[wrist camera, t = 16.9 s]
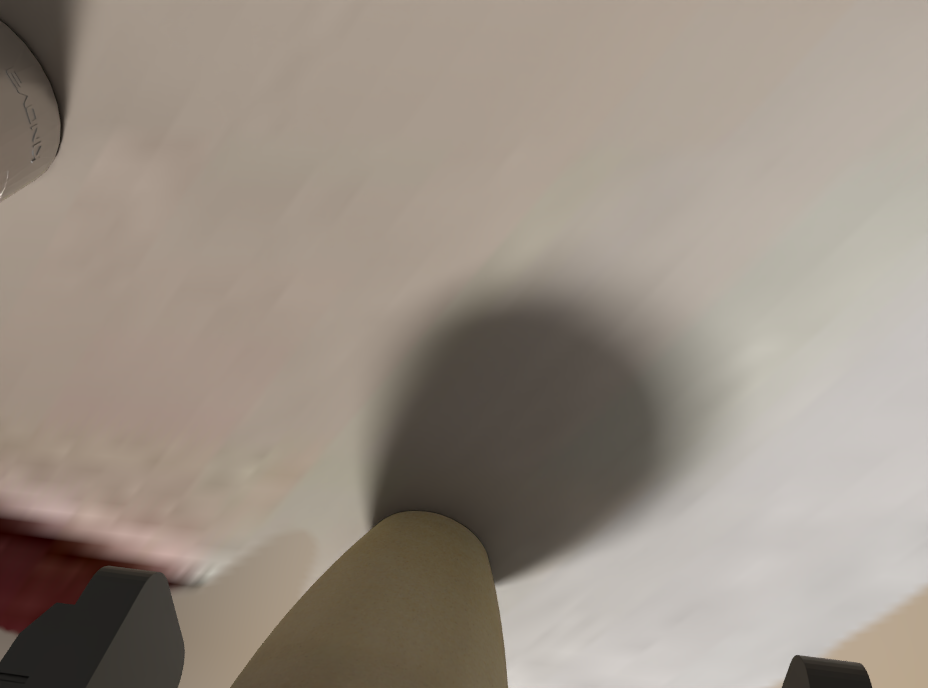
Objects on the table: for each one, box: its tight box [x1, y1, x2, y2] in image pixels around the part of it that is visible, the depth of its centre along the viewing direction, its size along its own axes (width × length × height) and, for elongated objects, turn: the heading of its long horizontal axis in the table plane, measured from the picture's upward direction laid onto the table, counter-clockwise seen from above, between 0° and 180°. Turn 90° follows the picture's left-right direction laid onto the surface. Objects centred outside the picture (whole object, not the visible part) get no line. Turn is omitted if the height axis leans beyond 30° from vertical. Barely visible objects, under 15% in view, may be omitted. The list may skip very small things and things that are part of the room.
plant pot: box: [230, 511, 508, 688], centre depth 46 cm, size 15×15×16 cm
